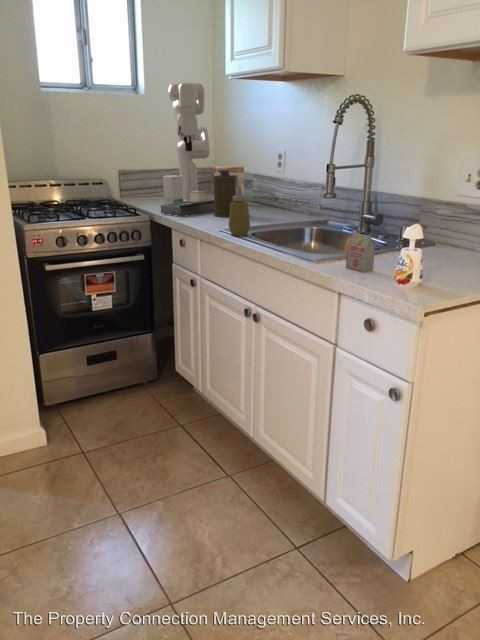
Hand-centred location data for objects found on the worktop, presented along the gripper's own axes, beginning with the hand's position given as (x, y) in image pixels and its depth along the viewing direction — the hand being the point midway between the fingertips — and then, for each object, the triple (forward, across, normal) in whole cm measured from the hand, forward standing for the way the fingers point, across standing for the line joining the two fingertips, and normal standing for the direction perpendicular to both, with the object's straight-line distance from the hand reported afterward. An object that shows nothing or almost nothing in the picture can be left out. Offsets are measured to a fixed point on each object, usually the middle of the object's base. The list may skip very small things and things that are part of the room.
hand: (188, 151), depth 269 cm
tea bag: (+27, +55, +133) cm, 147 cm away
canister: (+27, +9, +34) cm, 45 cm away
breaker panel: (+27, +13, +14) cm, 33 cm away
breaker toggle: (+23, +8, +14) cm, 28 cm away
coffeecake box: (+27, -17, +11) cm, 34 cm away
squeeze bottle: (+27, +40, +72) cm, 87 cm away
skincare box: (+27, +7, -5) cm, 29 cm away
